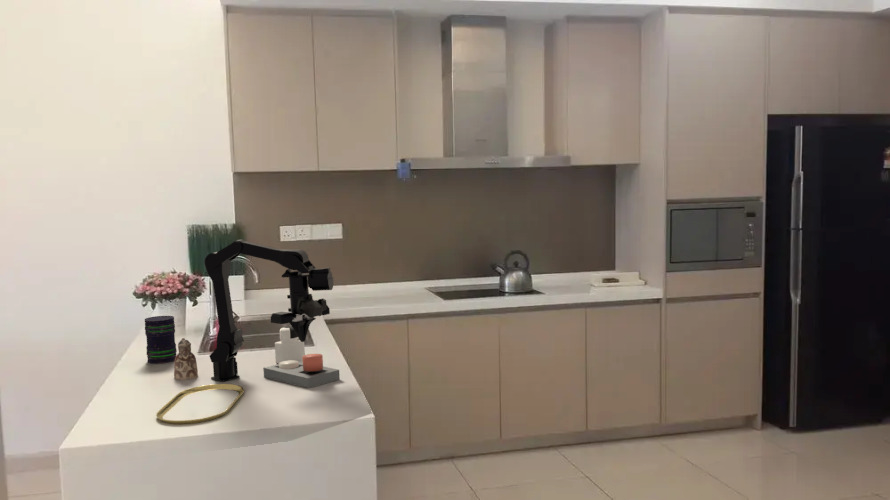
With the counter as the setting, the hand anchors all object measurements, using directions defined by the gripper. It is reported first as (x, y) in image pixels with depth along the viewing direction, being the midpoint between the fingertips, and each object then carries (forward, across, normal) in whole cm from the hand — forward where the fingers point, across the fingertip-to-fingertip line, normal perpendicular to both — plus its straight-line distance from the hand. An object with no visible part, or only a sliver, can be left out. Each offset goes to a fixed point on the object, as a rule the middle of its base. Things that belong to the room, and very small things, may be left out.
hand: (302, 341), depth 238 cm
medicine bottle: (+12, +11, +21) cm, 26 cm away
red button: (+8, -1, -5) cm, 9 cm away
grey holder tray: (+12, 0, +1) cm, 12 cm away
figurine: (+11, -20, +35) cm, 41 cm away
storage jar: (+10, -12, +62) cm, 65 cm away
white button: (+11, 0, +7) cm, 13 cm away
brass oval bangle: (+12, -34, +2) cm, 37 cm away
